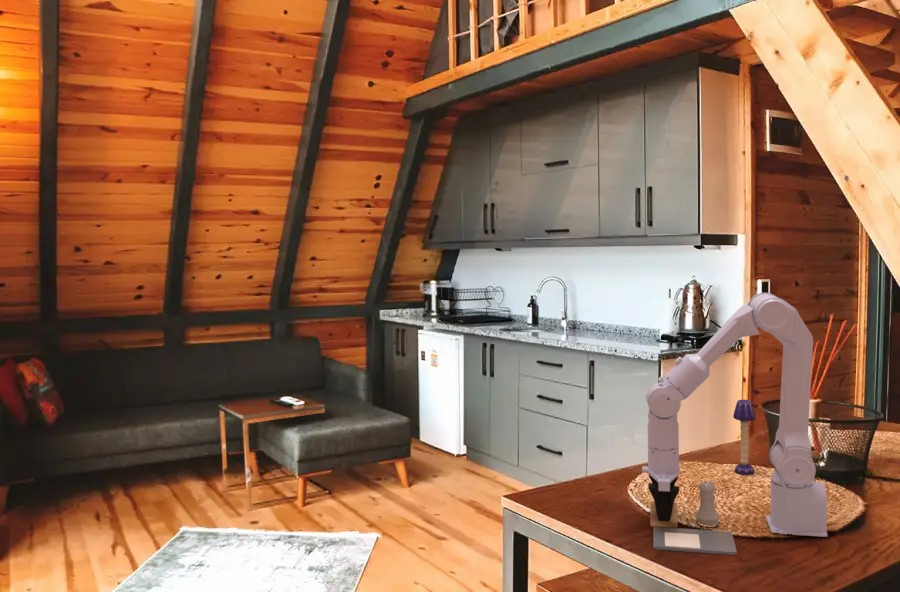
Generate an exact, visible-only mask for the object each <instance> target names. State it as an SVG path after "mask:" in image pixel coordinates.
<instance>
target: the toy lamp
mask: <svg viewBox="0 0 900 592" xmlns="http://www.w3.org/2000/svg"><path fill="white" fill-rule="evenodd" d="M734 408H735V409H734V410H733V411H734V412H733V416H732V417H733V419H734V420H737V421H739V422H740V428H739V429H740V431H741V432H740V446H739V447H740V448H739V449H740V454H739V455H740V459H739V460H740V461H739V463H738V464H737V465H736V466H735V468H734V473H736V474H738V475H742V476H752V475H754V474H755V469H754V467H753V466H752V465H751V464H749V449H750V447H749V442H750V440H749V438H750V437H749V436H750V433H749V430H750V427H749V423H750V421H751V422H752V421H755V419H756V414H755V411H754V407H753V404H752V401H751V400H749V399H739V400H737V401H736V404H735V407H734Z"/></svg>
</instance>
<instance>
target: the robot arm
mask: <svg viewBox="0 0 900 592" xmlns="http://www.w3.org/2000/svg"><path fill="white" fill-rule="evenodd" d="M759 328H760V329H761V330H763V331H764V332H767V333H768V334H770V335H772V336H773V337H774V338H776V340H778V341H779V343H781V344H782V360H781V362H782V365H781V383H780V399H779V400H780V403H779V418H778V419H779V420H778V428H777V430H776V432H775V440H774V443H773V444H772V446H771V448H770V449H769V457H768V458H769V460H770V463H771V465H772V466H773V467H774V470H773V473H772V474H771V475H770V515H765V518H766V522H767V524H768V527H770V528H769V529H770V532H772V534H773V533H779V534H778V535H787V534H790V535H791V534H792V535H793V536H805V537H806V536H807V537H809V536H810V537H819V538H820V537H823V538H825V537H826V538H827V537H828V531H827V530H828V496H827V495H828V494H827V489H826V486H825V484H824V483H823V482H819V481H814V478H815V476H816V471H817V469H816V464H815V462H814V461H813V458H812V447H811V446H812V445H811V441H810V435H809V423H810V421H809V420H810V405H811V404H810V402H811V387H812V385H811V384H812V370H813V369H812V367H813V352H814V351H813V350H814V338H813V335H812V333H811V331H810V330H809V329H808V327H807V325H806V324H805V322H804V320H803V319H802V317H801V316H800V313H799V312H798V310H797V308H795V307H794V306H793V305H791V304H790V303H788V301H786V300H784V299H783V298H780V297H778V296H777V295H775V294H772V293H770V292H759V293H757V294H754V295H753V296H752V297H751V298H750V299H749V301H748V302H747V303H744V304H743V305H741V306H740V307H739V308H738V309H737V310H736V311H735V312H734V313H733V314H732V315H731V316H730V317H729V319H728V320H726V322H725V323H723V325H722V326H721V327H720V328H719V329H718V330H717V331H716V333H715V334H714V335H713V336H712V337H710V338H709V340H707V342H706V343H705V344H704V345H703V346H702V348H700V349H699V350H698V351H697V353H692V354H691V353H687V354H685V355H684V356H683V357H681V356H678V357H677V358H676V359H675V365H674V366H673V367H672V368H671V369H670V370H669V371H668V372H667V373H666V374H665V375H664V376H662V375H661V376H659V378H658V379H657V381H658V383H654V384H653V385H651V387H649V389H648V390H647V395H645V398H646V403H647V406H648V408H649V409H648V413H647V417H648V421H647V460H648V461H647V465H643V466H642V467H641V473H644V474H648V477H649V479H650V481H651V482H648V490H649V493H650V494H651V496H652V498H653V502H655V506H656V512H657V517H658V520H659V521H670V519H671V515H672V509H673V504H674V503H675V500H676V498H677V495H678V494H679V492H680V486H678V485H676V482H677V480H678V479H679V476H680V475H681V469H680V443H679V441H680V440H679V439H680V437H679V435H680V433H679V432H680V429H679V427H680V426H679V422H678V413H679V411H680V409H681V405H682V404H681V403H682V401H683V400H687V399H688V398H689V397H690V396H691V395H692V394H693V393H694V391H696V390H697V389H698V388H699V387H700V386H701V384H703V383H704V382H705V381H706V380H708V378H709V377H710V374H711V373H710V366H711V365H713V364H714V363H715V362H716V361H717V360H718V359H719V358H720V357H722V356H723V354H725V353H726V352H727V351H728V350H729V349H731V347H733V345H735V344H736V343H737V342H738V341H740V339H742V338H746V337H750V336H758V335H760V332H759V330H758V329H759ZM792 535H791V536H792Z"/></svg>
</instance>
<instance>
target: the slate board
mask: <svg viewBox="0 0 900 592" xmlns="http://www.w3.org/2000/svg"><path fill="white" fill-rule="evenodd" d="M652 527H653V531H652V532H653V536H652V537H653V542H652V543H653V550H657V551H660V550H661V551H672V552H684V553H685V552H686V553H687V552H688V553H701V554H702V553H703V554H716V555H729V556H731V555H733V556H738V552H737V547H736V543H735V540H734V535H733V532H732V531H728V530H727V531H722V530H710V529H709V530H708V529H695V528H693V529H692V528H671V527H656V526H652Z"/></svg>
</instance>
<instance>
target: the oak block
mask: <svg viewBox="0 0 900 592" xmlns="http://www.w3.org/2000/svg"><path fill="white" fill-rule="evenodd" d="M649 511H650V512H649V515H650V518H649V519H650V525H649V526H650V527H664V528H678V526H679V525H678V523H679V521H678V520H679V519H678V516H679V514H678V513H679V512H678V503H677V502H674V504H673V509H672V515H671V519H670V521H659V520H658V517H657V512H656V506H655V502H654V501H650V510H649Z"/></svg>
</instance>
